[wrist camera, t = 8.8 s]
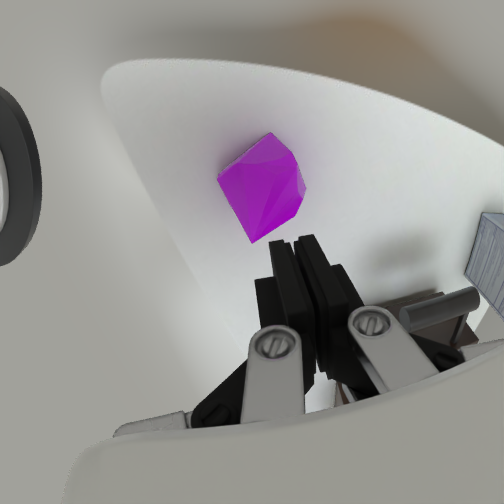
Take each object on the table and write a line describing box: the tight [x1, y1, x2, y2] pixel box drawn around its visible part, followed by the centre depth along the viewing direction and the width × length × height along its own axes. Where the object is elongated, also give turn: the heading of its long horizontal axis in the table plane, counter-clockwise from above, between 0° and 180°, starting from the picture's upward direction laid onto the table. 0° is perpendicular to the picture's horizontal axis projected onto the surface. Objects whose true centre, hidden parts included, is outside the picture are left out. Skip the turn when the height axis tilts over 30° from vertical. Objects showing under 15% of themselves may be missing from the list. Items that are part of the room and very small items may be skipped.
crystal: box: [217, 132, 306, 243], centre depth 19 cm, size 5×5×5 cm
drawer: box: [384, 286, 480, 350], centre depth 26 cm, size 20×11×8 cm, turn 10°
